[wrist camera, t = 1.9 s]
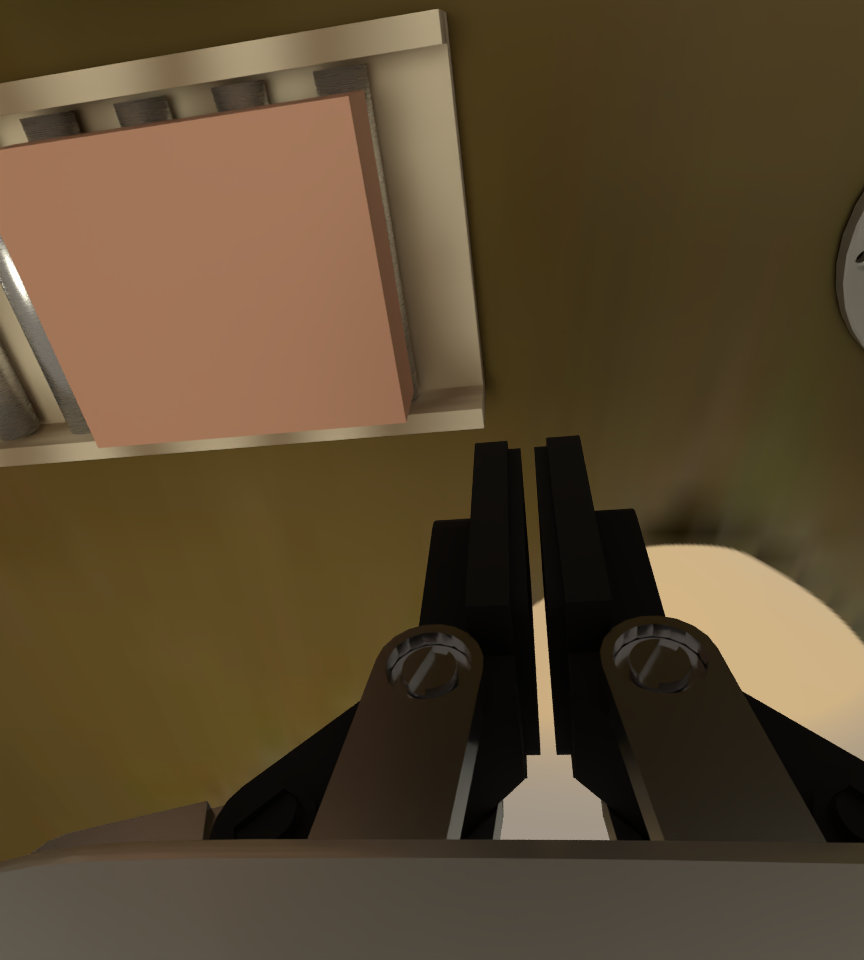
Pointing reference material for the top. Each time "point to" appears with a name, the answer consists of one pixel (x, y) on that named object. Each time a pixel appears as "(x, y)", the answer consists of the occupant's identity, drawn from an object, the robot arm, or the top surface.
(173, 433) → the slab
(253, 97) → the rollers
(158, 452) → the roller bed
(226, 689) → the top surface
